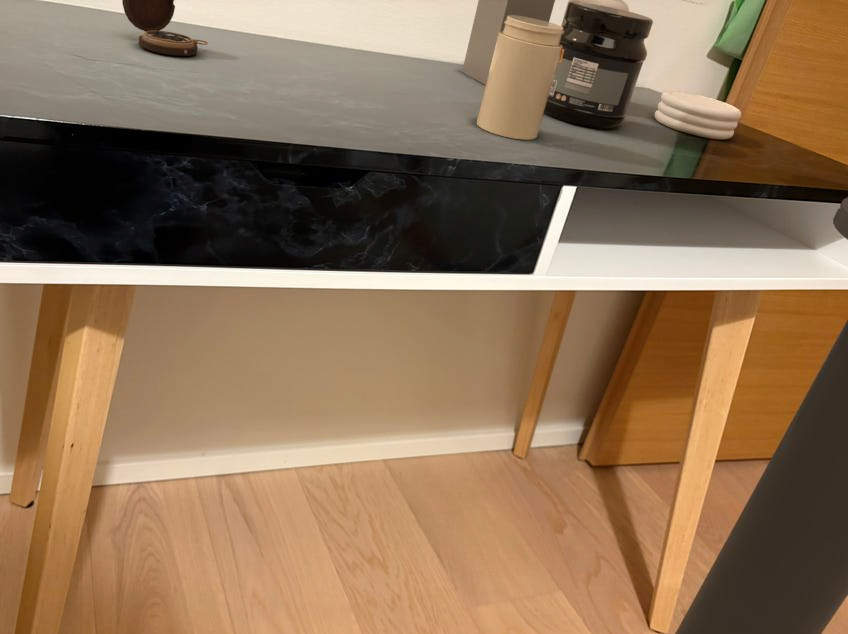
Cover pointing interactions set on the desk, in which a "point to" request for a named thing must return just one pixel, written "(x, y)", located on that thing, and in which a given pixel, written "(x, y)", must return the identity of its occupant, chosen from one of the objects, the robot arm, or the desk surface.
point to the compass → (158, 27)
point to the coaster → (697, 115)
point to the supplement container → (597, 65)
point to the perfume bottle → (496, 30)
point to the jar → (520, 77)
